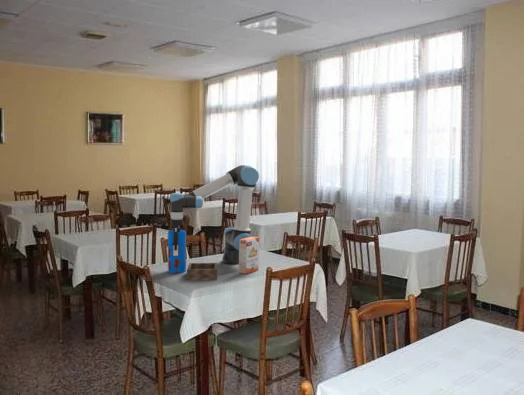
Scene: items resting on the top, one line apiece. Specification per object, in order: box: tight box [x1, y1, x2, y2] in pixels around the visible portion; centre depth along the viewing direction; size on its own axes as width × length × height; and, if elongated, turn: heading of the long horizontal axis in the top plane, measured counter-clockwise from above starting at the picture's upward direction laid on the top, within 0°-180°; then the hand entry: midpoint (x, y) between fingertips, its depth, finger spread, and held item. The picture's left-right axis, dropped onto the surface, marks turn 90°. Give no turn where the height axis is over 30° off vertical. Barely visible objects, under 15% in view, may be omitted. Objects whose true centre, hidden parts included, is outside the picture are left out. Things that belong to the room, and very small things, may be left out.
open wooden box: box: [186, 262, 218, 281], centre depth 304 cm, size 17×17×6 cm
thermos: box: [167, 229, 187, 274], centre depth 313 cm, size 11×11×25 cm
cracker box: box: [238, 236, 260, 275], centre depth 315 cm, size 14×6×21 cm, turn 147°
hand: (176, 253), depth 313 cm, fingers open, 13 cm apart
